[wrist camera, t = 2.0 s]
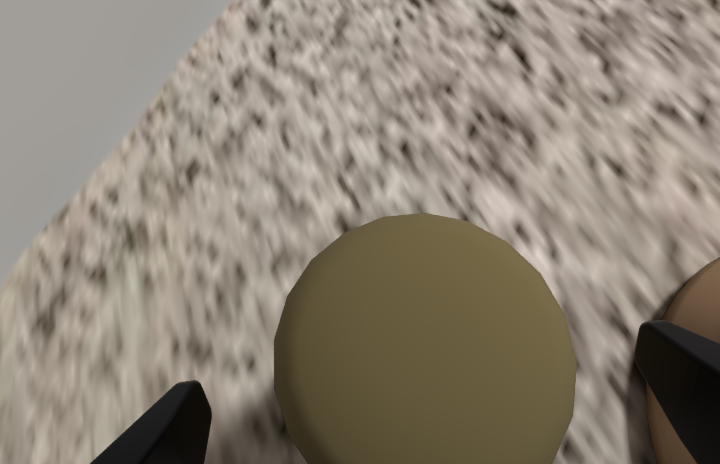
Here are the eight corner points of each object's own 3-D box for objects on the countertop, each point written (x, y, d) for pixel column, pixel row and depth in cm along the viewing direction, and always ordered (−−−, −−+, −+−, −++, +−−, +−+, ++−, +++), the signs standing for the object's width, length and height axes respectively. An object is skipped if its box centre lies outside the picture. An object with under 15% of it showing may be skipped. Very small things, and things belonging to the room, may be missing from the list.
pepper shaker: (297, 377, 17) (135, 370, 6) (394, 263, 18) (394, 100, 7) (418, 494, 15) (472, 753, 5) (516, 360, 16) (733, 322, 6)
